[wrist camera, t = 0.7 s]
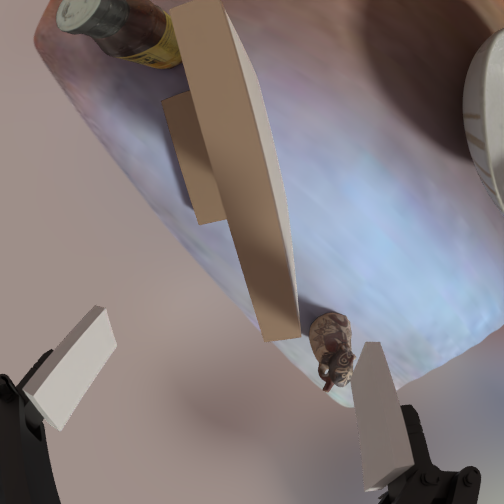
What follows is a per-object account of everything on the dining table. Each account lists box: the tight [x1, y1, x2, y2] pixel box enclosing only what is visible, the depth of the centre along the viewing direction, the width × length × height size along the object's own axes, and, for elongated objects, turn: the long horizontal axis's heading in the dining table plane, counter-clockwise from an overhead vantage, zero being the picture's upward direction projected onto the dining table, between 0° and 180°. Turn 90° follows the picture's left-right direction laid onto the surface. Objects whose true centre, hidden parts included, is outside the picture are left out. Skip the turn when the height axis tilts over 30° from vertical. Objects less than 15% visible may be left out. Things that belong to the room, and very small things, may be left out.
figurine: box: [309, 312, 356, 393], centre depth 39 cm, size 7×7×12 cm
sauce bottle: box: [56, 0, 182, 69], centre depth 17 cm, size 6×6×20 cm
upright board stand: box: [161, 0, 301, 342], centre depth 22 cm, size 17×11×23 cm, turn 14°
